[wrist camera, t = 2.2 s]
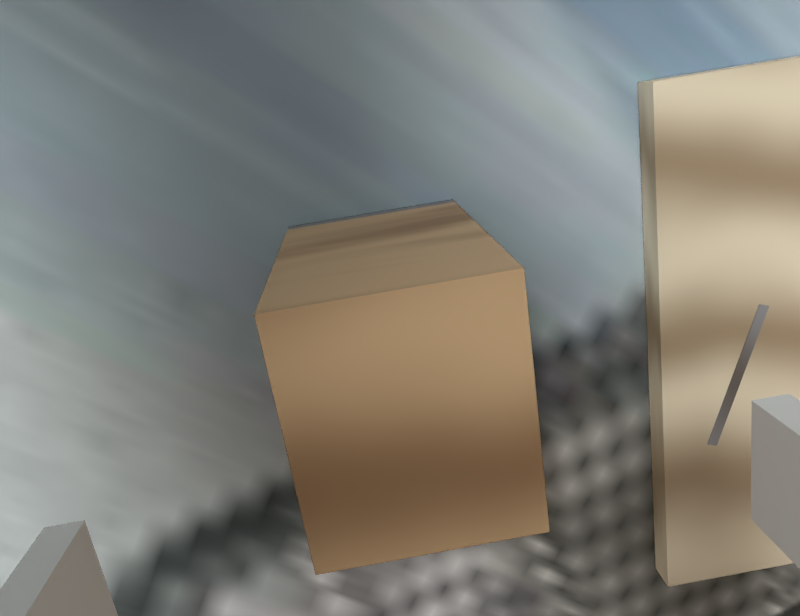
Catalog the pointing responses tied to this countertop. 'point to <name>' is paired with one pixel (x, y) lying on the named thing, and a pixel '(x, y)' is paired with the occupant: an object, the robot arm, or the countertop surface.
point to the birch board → (718, 300)
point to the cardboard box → (403, 385)
